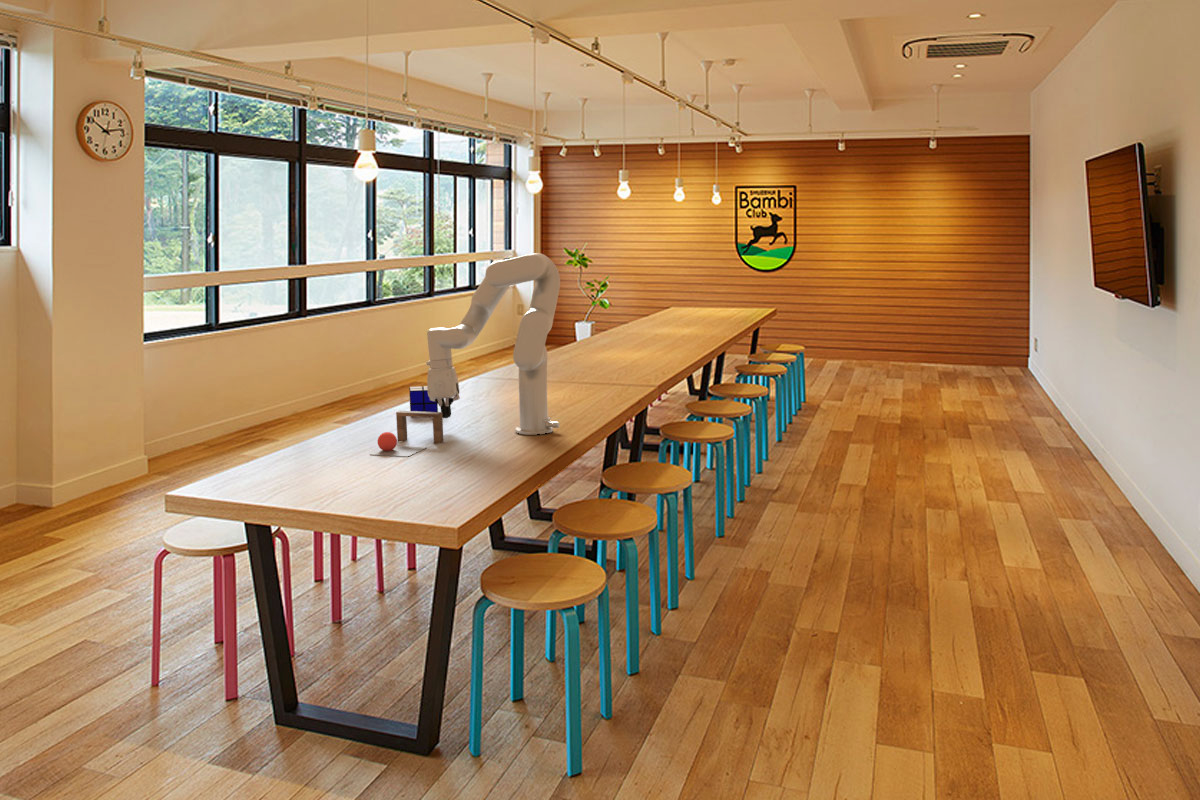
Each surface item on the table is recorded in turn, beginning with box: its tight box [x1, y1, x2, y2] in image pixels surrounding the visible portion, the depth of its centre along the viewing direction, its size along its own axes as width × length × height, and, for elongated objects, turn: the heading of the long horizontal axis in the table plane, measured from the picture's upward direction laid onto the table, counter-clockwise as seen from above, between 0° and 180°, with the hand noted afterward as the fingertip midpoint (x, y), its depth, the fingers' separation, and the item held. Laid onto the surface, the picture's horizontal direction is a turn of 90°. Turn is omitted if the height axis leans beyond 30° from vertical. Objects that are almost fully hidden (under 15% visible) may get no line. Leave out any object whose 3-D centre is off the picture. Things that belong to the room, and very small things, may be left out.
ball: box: [377, 431, 398, 451], centre depth 316 cm, size 6×6×6 cm
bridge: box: [395, 410, 444, 444], centre depth 329 cm, size 3×15×10 cm, turn 73°
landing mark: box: [369, 445, 428, 458], centre depth 315 cm, size 13×13×1 cm
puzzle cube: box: [408, 385, 439, 412], centre depth 377 cm, size 10×10×10 cm
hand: (446, 417), depth 345 cm, fingers closed
